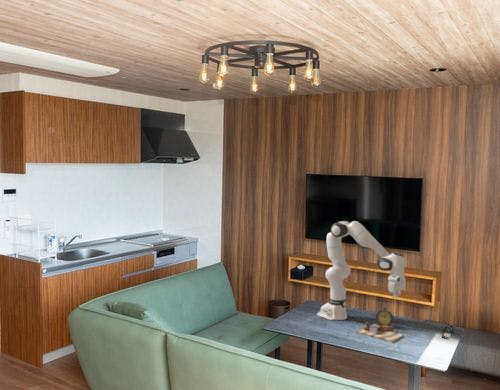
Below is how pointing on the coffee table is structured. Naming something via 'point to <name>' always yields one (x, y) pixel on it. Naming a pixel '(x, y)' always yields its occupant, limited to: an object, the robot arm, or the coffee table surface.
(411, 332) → the coffee table surface
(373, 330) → the keeper
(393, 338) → the base board
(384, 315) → the alarm clock
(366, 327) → the link
